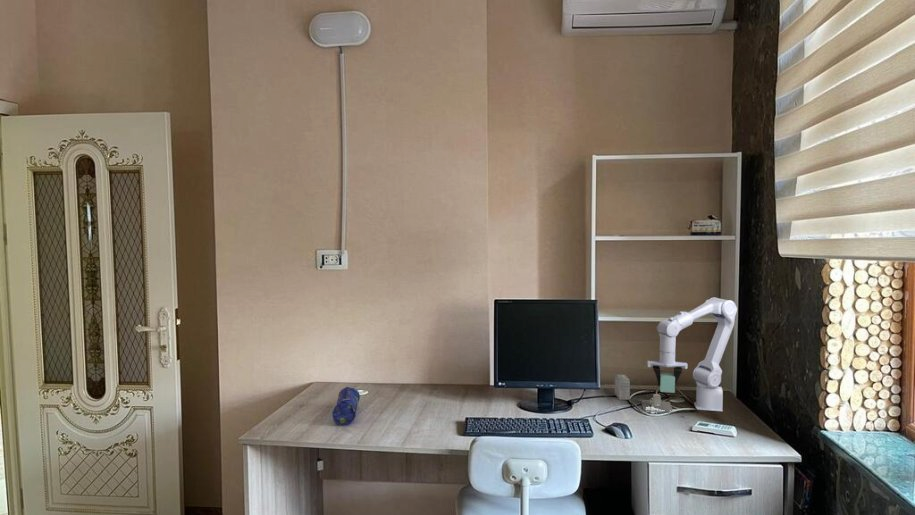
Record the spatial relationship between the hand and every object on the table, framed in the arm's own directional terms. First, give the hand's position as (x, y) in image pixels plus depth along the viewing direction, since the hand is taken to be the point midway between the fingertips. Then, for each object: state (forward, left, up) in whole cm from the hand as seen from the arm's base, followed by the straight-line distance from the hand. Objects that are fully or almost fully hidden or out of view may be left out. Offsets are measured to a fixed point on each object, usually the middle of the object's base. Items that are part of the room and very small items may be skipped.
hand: (666, 385), depth 219 cm
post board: (+3, -5, -10) cm, 12 cm away
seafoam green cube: (0, 0, -2) cm, 2 cm away
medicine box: (+16, -15, -11) cm, 24 cm away
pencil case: (+119, +34, -11) cm, 125 cm away
